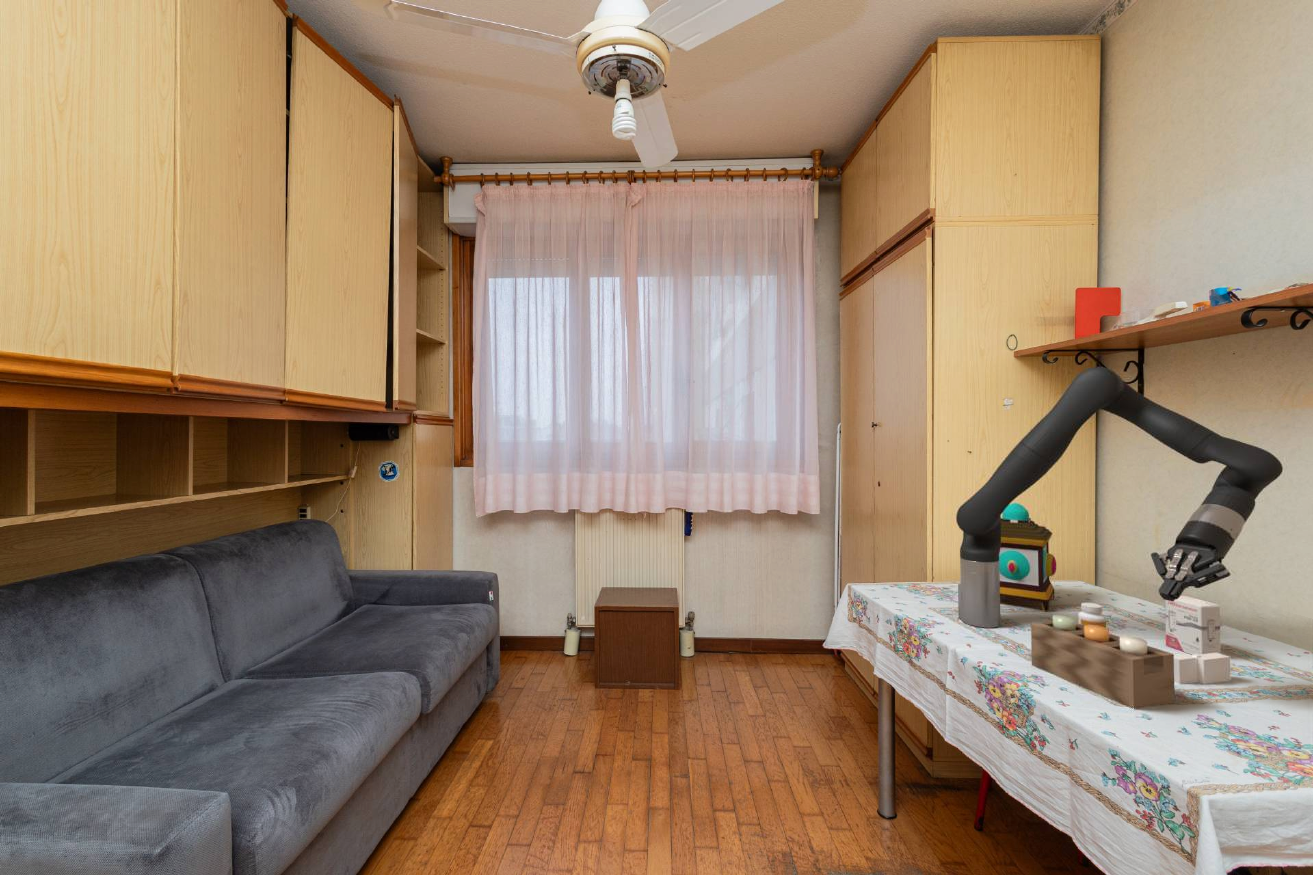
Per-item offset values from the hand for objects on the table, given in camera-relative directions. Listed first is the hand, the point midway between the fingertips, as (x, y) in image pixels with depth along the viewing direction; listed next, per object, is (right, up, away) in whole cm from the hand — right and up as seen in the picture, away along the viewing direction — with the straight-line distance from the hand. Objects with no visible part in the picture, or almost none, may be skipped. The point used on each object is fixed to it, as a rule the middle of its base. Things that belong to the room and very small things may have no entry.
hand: (1166, 597), depth 109 cm
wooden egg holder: (-10, -18, +5) cm, 21 cm away
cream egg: (-8, -10, -2) cm, 13 cm away
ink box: (+24, -18, +20) cm, 37 cm away
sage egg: (-12, -11, +11) cm, 19 cm away
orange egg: (-10, -10, +5) cm, 15 cm away
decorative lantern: (+11, -19, +62) cm, 66 cm away
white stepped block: (+11, -19, +5) cm, 23 cm away
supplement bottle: (+5, -19, +25) cm, 31 cm away
